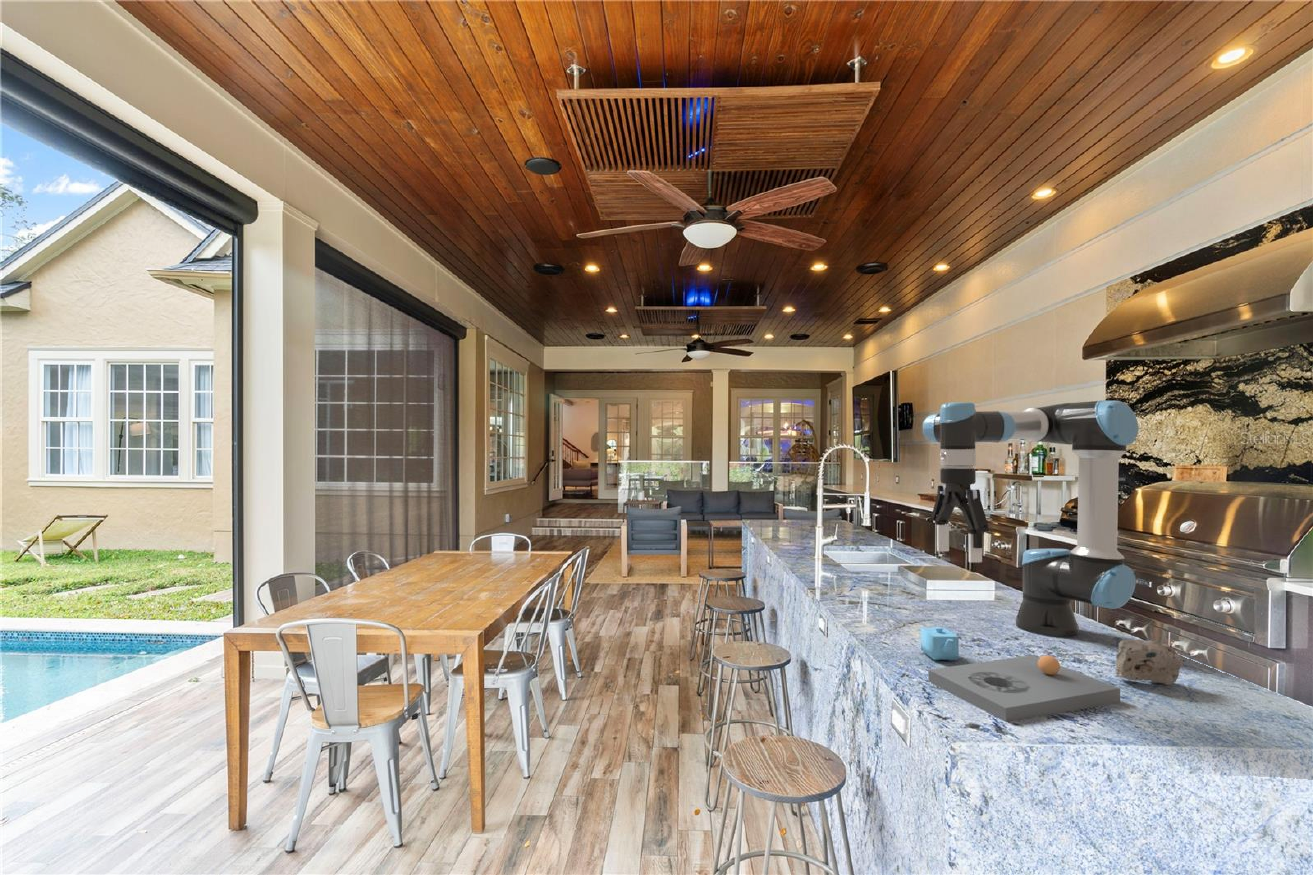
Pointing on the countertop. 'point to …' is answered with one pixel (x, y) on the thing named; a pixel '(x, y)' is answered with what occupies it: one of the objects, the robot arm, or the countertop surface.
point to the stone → (1147, 661)
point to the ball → (1049, 665)
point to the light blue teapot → (939, 643)
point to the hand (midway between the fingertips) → (958, 556)
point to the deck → (1022, 688)
